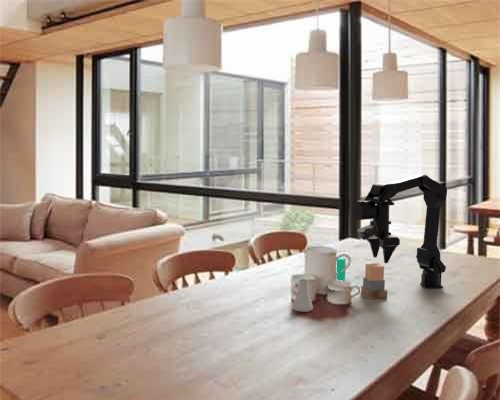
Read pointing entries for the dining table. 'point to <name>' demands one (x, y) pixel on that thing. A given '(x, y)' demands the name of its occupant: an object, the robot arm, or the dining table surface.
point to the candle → (341, 268)
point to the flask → (302, 298)
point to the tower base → (373, 294)
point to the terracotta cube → (374, 272)
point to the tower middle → (373, 284)
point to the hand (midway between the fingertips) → (380, 260)
